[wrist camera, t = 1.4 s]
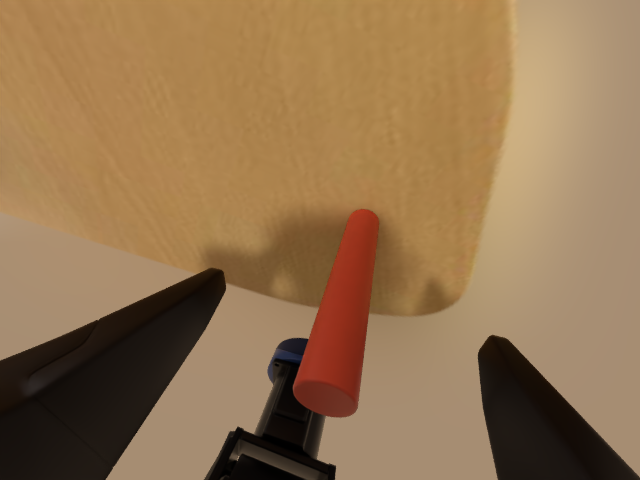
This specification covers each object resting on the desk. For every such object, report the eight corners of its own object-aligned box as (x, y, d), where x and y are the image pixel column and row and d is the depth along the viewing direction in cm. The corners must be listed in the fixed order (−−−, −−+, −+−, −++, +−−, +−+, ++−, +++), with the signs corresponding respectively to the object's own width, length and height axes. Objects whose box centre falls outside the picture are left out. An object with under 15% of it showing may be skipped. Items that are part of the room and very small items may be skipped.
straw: (375, 238, 14) (351, 425, 6) (346, 232, 14) (291, 406, 7) (382, 211, 13) (362, 394, 6) (350, 206, 13) (292, 373, 6)
